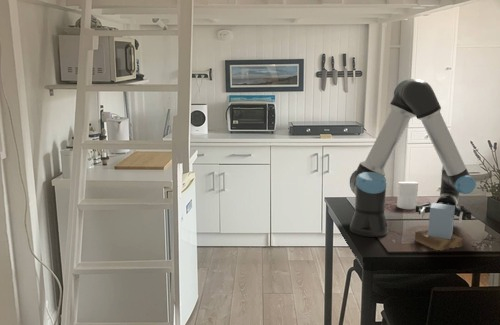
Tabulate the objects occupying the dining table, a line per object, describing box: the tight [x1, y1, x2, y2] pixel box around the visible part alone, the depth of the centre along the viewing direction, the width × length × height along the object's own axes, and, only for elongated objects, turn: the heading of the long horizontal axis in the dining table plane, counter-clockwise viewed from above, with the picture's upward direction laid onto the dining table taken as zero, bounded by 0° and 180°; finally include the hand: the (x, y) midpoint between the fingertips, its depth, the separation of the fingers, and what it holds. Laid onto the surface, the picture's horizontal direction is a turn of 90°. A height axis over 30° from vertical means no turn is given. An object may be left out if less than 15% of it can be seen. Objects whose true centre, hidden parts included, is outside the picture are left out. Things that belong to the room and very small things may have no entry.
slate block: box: [427, 202, 455, 239], centre depth 185 cm, size 8×8×11 cm
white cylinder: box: [396, 181, 419, 210], centre depth 236 cm, size 9×9×12 cm
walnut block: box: [414, 229, 464, 251], centre depth 186 cm, size 12×12×4 cm
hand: (440, 217), depth 182 cm, fingers open, 13 cm apart
